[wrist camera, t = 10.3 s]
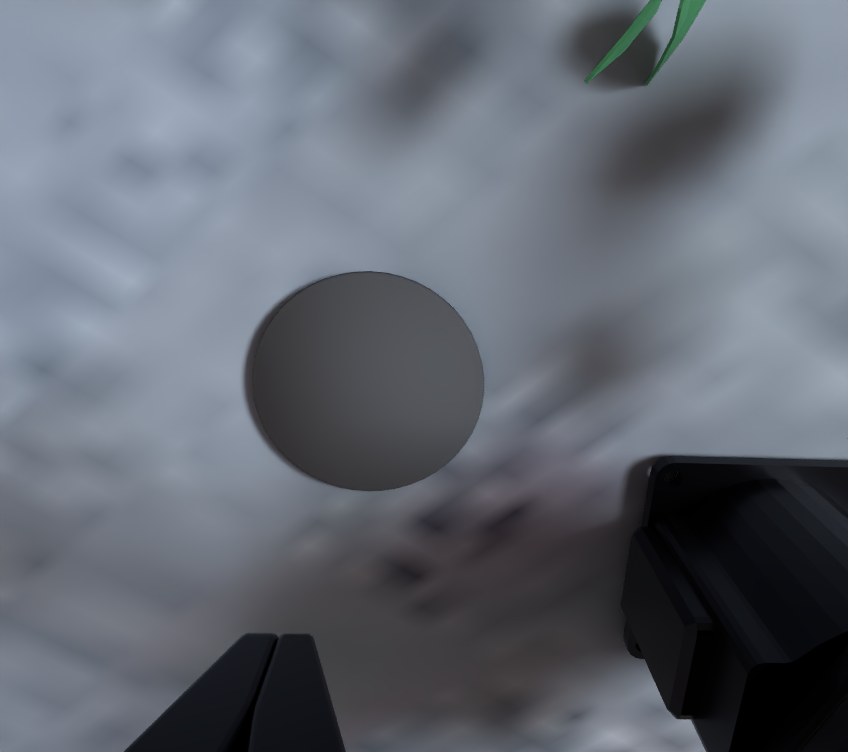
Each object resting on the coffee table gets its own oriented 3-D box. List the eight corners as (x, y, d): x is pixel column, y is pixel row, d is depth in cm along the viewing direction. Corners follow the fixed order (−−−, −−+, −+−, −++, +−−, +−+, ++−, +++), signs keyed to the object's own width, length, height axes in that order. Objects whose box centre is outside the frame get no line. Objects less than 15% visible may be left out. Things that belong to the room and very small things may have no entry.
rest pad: (490, 275, 17) (492, 277, 17) (475, 488, 19) (477, 493, 19) (249, 267, 17) (246, 269, 17) (259, 482, 19) (257, 488, 19)
